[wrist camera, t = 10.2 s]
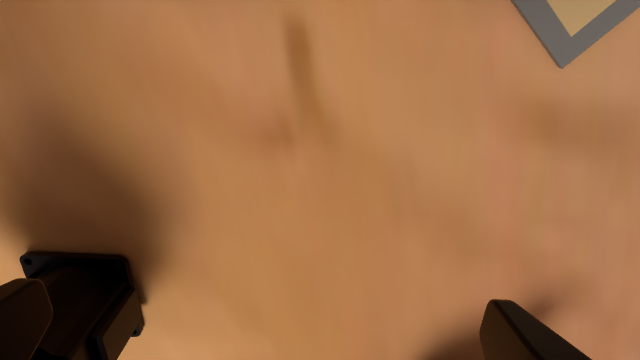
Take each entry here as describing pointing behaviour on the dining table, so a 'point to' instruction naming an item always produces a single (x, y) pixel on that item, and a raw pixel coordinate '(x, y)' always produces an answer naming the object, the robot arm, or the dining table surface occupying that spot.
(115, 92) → the dining table surface
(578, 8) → the grey rectangular board
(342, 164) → the dining table surface
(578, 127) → the dining table surface
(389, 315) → the dining table surface
